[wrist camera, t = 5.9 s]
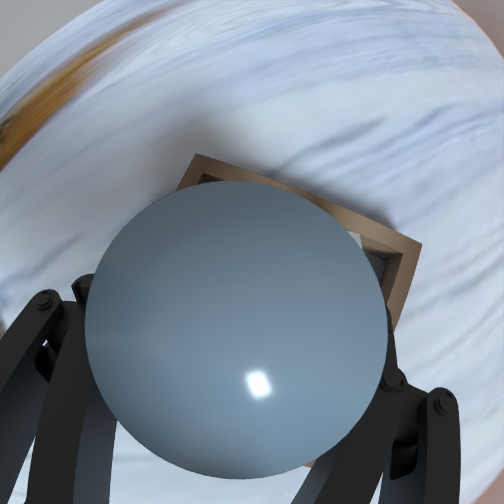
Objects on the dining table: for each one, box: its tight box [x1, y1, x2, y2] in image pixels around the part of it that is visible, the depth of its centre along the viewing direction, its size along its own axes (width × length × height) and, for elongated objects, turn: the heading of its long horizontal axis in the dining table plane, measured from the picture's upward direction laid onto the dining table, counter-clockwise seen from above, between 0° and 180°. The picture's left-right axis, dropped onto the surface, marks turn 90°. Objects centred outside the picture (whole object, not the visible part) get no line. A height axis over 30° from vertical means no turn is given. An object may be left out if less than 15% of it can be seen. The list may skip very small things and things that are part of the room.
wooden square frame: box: [176, 153, 422, 468], centre depth 16 cm, size 14×14×2 cm
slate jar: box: [85, 181, 388, 479], centre depth 11 cm, size 6×6×12 cm
